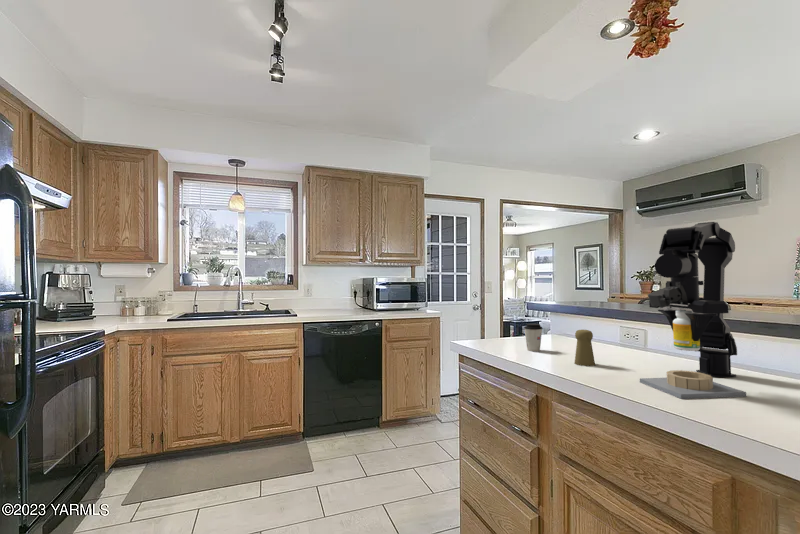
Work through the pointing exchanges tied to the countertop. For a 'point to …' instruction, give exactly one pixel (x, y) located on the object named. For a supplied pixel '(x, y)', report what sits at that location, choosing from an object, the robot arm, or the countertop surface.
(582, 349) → the cork
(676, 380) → the socket stand
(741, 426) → the countertop surface
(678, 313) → the supplement bottle
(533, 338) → the coffee cup
